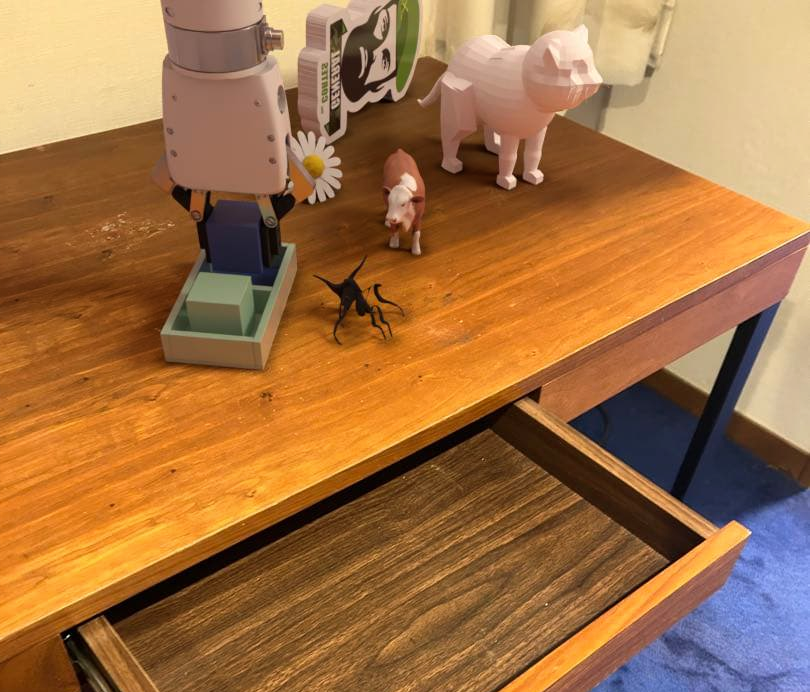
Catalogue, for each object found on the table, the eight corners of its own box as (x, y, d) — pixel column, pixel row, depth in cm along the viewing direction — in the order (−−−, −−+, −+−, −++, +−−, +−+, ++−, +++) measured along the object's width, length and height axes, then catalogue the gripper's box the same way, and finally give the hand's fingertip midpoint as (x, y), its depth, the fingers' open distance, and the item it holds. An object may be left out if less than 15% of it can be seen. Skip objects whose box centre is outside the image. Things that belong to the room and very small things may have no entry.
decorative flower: (200, 121, 91) (341, 124, 92) (210, 144, 97) (342, 147, 98) (201, 196, 91) (341, 199, 92) (211, 214, 98) (343, 216, 98)
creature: (418, 337, 80) (367, 284, 83) (430, 293, 76) (375, 239, 78) (352, 368, 77) (300, 312, 79) (360, 324, 72) (305, 266, 75)
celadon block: (193, 346, 75) (185, 300, 72) (206, 316, 78) (199, 271, 75) (244, 350, 75) (239, 304, 72) (255, 321, 78) (251, 275, 75)
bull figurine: (379, 274, 85) (380, 195, 79) (382, 209, 94) (384, 133, 88) (423, 275, 85) (427, 196, 79) (422, 210, 94) (426, 135, 88)
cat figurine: (385, 149, 104) (388, -7, 92) (442, 125, 110) (452, -25, 97) (549, 223, 93) (578, 57, 81) (603, 193, 99) (638, 33, 86)
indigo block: (212, 270, 78) (205, 223, 75) (224, 245, 81) (217, 198, 78) (261, 274, 78) (257, 227, 75) (271, 249, 81) (267, 202, 78)
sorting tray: (166, 363, 74) (159, 333, 72) (212, 265, 85) (208, 236, 83) (263, 372, 74) (260, 342, 72) (297, 272, 85) (295, 243, 83)
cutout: (310, 28, 93) (423, -45, 106) (289, 23, 93) (404, -49, 107) (321, 163, 105) (422, 82, 118) (302, 157, 105) (404, 78, 119)
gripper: (332, 33, 68) (338, 244, 82) (124, 19, 69) (164, 231, 83) (317, 68, 63) (326, 287, 77) (93, 52, 64) (141, 272, 77)
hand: (242, 256), depth 80 cm, fingers closed on indigo block, 4 cm apart
